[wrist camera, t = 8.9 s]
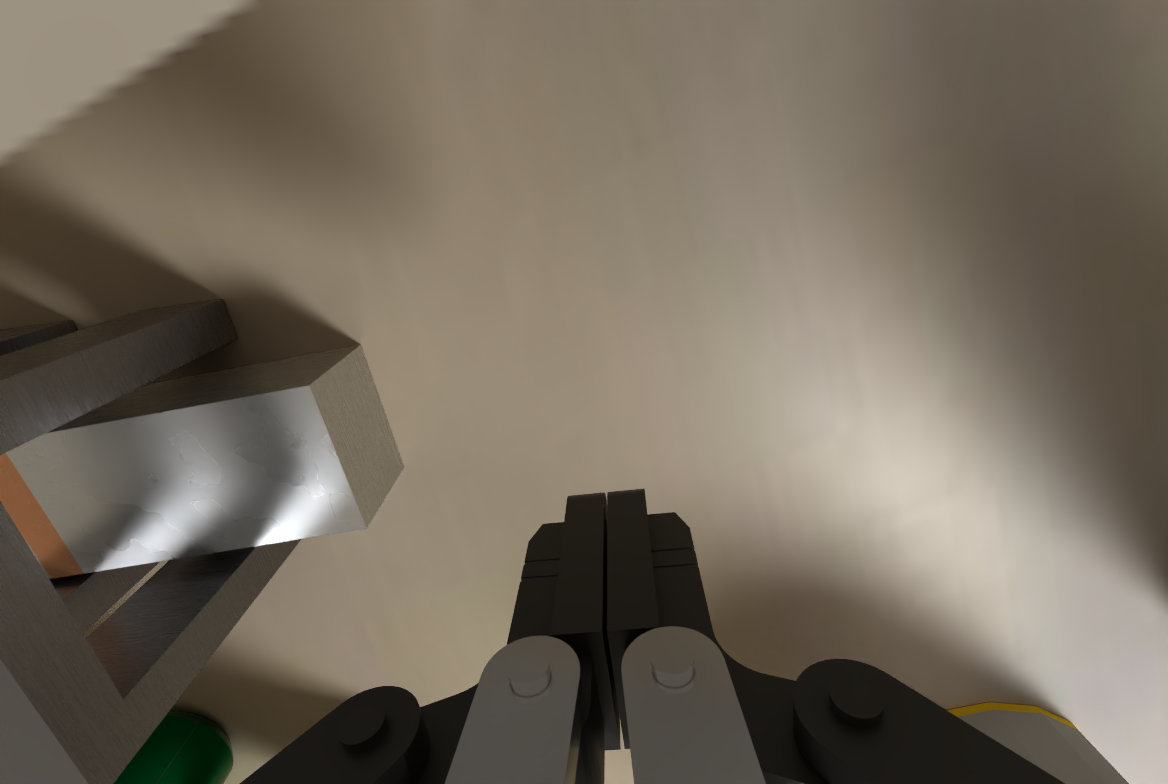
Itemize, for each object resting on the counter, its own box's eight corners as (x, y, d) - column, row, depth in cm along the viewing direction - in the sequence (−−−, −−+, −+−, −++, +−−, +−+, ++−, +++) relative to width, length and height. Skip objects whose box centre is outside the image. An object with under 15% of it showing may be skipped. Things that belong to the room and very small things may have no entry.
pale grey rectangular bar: (361, 344, 20) (309, 385, 16) (404, 466, 22) (366, 528, 18) (-20, 415, 21) (-150, 469, 17) (51, 525, 23) (-53, 595, 19)
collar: (223, 298, 19) (-157, 437, 9) (310, 527, 23) (100, 800, 13) (139, 310, 19) (-317, 458, 10) (239, 535, 23) (-21, 810, 13)
